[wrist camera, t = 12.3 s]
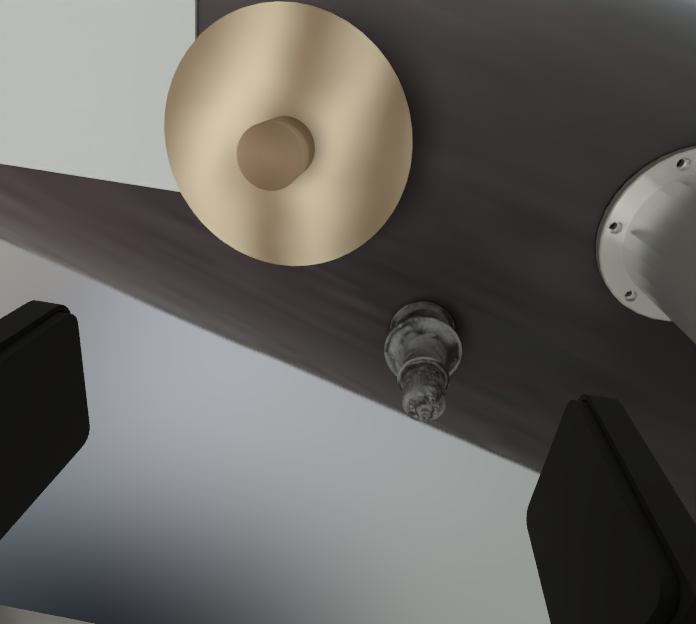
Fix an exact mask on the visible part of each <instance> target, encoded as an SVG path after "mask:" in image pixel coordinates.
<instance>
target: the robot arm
mask: <svg viewBox="0 0 696 624" xmlns="http://www.w3.org/2000/svg"><path fill="white" fill-rule="evenodd" d="M680 159H681V163H680V165H678V166H677V162H678V161H679V160H680ZM614 222H615V225H614V227H612V228H609V227H610V225H611V224H612V223H614ZM596 261H597V265H598V269H599V273H600V275H601V277H602V279H603V281H604V283H605V285H606V286H607V288H608V289H609V290H610V291H611V293H612V294H613V295H614V296H615V297H616V298H617V299H618V300H619V301H620V302H621V303H622V304H623V305H624V306H626V307H628V308H629V309H631V310H633V311H634V312H636V313H638V314H641V315H643V316H646V317H649V318H652V319H658V320H664V321H673V322H674V323H675V324H676V325H677V326H678V327H679V328H680V329H681V330H682V331H683V332H684V333H685V334H686V335H687V336H688V337H689V338H690V339H691V340H692V341H693V342H694V343H695V344H696V146H692V147H688V148H683V149H679V150H677V151H675V152H672V153H670V154H667V155H665V156H662V157H660V158H658V159H657V160H655V161H653V162H652V163H650V164H648V165H647V166H645V167H643V168H642V169H641V170H640V171H639V172H637V173H636V174H635V175H634V176H633V177H631V178H630V179H629V180H628V181H627V182H626V183H625V184H624V185H623V186H622V188H621V189H620V190H619V191H618V192H617V193H616V194H615V196H614V197H613V199H612V201H611V202H610V204H609V205H608V207H607V209H606V210H605V213H604V215H603V217H602V220H601V222H600V225H599V228H598V233H597V238H596ZM629 291H630V292H629ZM627 292H629V293H628V294H626V293H627ZM82 364H83V363H82V354H81V346H80V337H79V329H78V322H77V318H76V317H75V316H74V315H73V314H70V311H69V310H68V308H67V307H66V306H64V305H60V304H54V303H48V302H42V301H35V300H33V301H30V302H28V303H26V304H24V305H23V306H21V307H20V308H18V309H16V310H15V311H13V312H11V313H9V314H8V315H6V316H4V317H3V318H1V319H0V540H1V539H2V537H3V536H4V535H5V534H6V533H7V532H8V531H9V529H10V528H11V527H12V526H13V525H14V524H15V523H16V522H17V520H18V519H19V518H20V517H21V516H22V515H23V513H24V512H25V511H26V510H27V509H28V508H29V506H31V504H32V503H33V502H34V501H35V500H36V499H37V497H39V495H40V494H41V493H42V492H43V491H44V490H45V488H46V487H47V486H48V485H49V484H50V483H51V482H52V481H53V479H54V478H55V477H56V476H57V475H58V474H59V473H60V471H61V470H62V469H63V468H64V467H65V466H66V464H67V463H68V462H69V461H70V460H71V459H72V458H73V457H74V456H75V454H76V453H77V452H78V451H79V450H80V449H81V448H82V446H83V445H84V443H85V442H86V440H87V438H88V435H89V430H90V428H89V427H90V425H89V416H88V408H87V398H86V390H85V381H84V372H83V365H82ZM527 529H528V533H529V537H530V541H531V545H532V549H533V553H534V557H535V561H536V565H537V569H538V573H539V577H540V582H541V586H542V590H543V594H544V598H545V602H546V606H547V610H548V614H549V618H550V622H551V624H696V524H695V523H694V521H693V519H692V518H691V516H690V515H689V513H688V511H687V510H686V508H685V506H684V505H683V503H682V502H681V500H680V498H679V497H678V495H677V493H676V492H675V490H674V489H673V487H672V485H671V484H670V482H669V481H668V479H667V477H666V476H665V474H664V472H663V471H662V469H661V468H660V466H659V464H658V463H657V461H656V459H655V458H654V456H653V455H652V453H651V451H650V450H649V448H648V446H647V445H646V443H645V442H644V440H643V438H642V437H641V435H640V434H639V432H638V430H637V429H636V427H635V425H634V424H633V422H632V421H631V419H630V417H629V416H628V414H627V412H626V411H625V409H624V408H623V406H622V404H621V403H620V402H619V401H618V400H616V399H612V398H606V397H600V396H594V395H588V394H583V395H581V396H580V398H579V399H578V401H577V400H571V401H569V403H568V404H567V406H566V409H565V411H564V414H563V416H562V419H561V422H560V424H559V427H558V430H557V432H556V435H555V437H554V440H553V443H552V445H551V448H550V451H549V453H548V456H547V458H546V461H545V464H544V466H543V469H542V472H541V474H540V477H539V480H538V482H537V485H536V487H535V490H534V493H533V495H532V498H531V501H530V503H529V506H528V509H527ZM0 624H93V623H87V622H83V621H78V620H73V619H68V618H62V617H57V616H52V615H47V614H42V613H36V612H32V611H26V610H21V609H16V608H11V607H6V606H1V605H0Z"/></svg>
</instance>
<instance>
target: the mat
mask: <svg viewBox="0 0 696 624" xmlns="http://www.w3.org/2000/svg"><path fill="white" fill-rule="evenodd" d="M196 39H197V0H0V164H6V165H12V166H19V167H25V168H32V169H38V170H44V171H51V172H57V173H63V174H70V175H76V176H82V177H89V178H95V179H102V180H108V181H114V182H121V183H127V184H133V185H140V186H146V187H152V188H159V189H165V190H172V191H178V192H180V189H179V187H178V185H177V183H176V181H175V179H174V176H173V173H172V170H171V167H170V164H169V159H168V155H167V150H166V144H165V133H164V119H165V107H166V101H167V95H168V92H169V88H170V85H171V81H172V78H173V76H174V74H175V71H176V69H177V67H178V65H179V63H180V61H181V59H182V58H183V56H184V55H185V53H186V51H187V50H188V48H189V47H190V46H191V45H192V44H193V42H194V41H195V40H196Z"/></svg>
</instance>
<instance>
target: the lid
mask: <svg viewBox="0 0 696 624" xmlns="http://www.w3.org/2000/svg"><path fill="white" fill-rule="evenodd" d="M164 133H165V144H166V150H167V155H168V159H169V164H170V167H171V170H172V173H173V176H174V179H175V181H176V183H177V185H178V187H179V189H180V192H181V194H182V195H183V197H184V199H185V200H186V202H187V203H188V205H189V207H190V208H191V209H192V211H193V212H194V213H195V215H196V216H197V217H198V218H199V220H200V221H201V222H202V223H203V224H204V225H205V226H206V227H207V228H208V229H209V230H210V231H211V232H212V233H213V234H214V235H216V236H217V237H218V238H219V239H221V240H222V241H223V242H225V243H226V244H228V245H229V246H231V247H232V248H234V249H236V250H237V251H239V252H242V253H244V254H246V255H248V256H250V257H253V258H255V259H258V260H261V261H264V262H269V263H273V264H278V265H288V266H306V265H313V264H320V263H324V262H327V261H331V260H334V259H337V258H339V257H341V256H344V255H346V254H348V253H350V252H352V251H353V250H355V249H357V248H358V247H360V246H361V245H363V244H364V243H365V242H366V241H368V240H369V239H370V238H371V237H373V236H374V235H375V234H376V233H377V231H378V230H379V229H380V228H381V227H382V226H383V225H384V224H385V223H386V221H387V220H388V218H389V217H390V216H391V214H392V213H393V211H394V209H395V208H396V206H397V204H398V202H399V200H400V198H401V196H402V193H403V191H404V188H405V185H406V183H407V179H408V175H409V170H410V166H411V158H412V148H413V143H412V124H411V117H410V111H409V107H408V104H407V100H406V97H405V93H404V91H403V89H402V86H401V84H400V82H399V79H398V77H397V75H396V74H395V72H394V70H393V68H392V67H391V65H390V63H389V62H388V60H387V59H386V58H385V56H384V55H383V54H382V52H381V51H380V50H379V49H378V47H377V46H376V45H375V44H374V43H373V42H372V41H371V40H370V39H369V38H368V37H367V36H366V35H365V34H364V33H362V32H361V31H360V30H358V29H357V28H355V27H354V26H353V25H351V24H350V23H349V22H347V21H346V20H344V19H342V18H340V17H338V16H336V15H335V14H333V13H331V12H328V11H325V10H323V9H320V8H317V7H315V6H311V5H306V4H301V3H296V2H280V1H276V2H267V3H259V4H255V5H251V6H247V7H244V8H241V9H239V10H236V11H234V12H232V13H230V14H227V15H226V16H224V17H222V18H221V19H219V20H218V21H216V22H215V23H213V24H212V25H211V26H209V27H208V28H207V29H206V30H205V31H204V32H203V33H202V34H200V35H199V36H198V38H197V39H196V40H195V41H194V42H193V44H192V45H191V46H190V47H189V48H188V50H187V51H186V53H185V55H184V56H183V58H182V59H181V61H180V63H179V65H178V67H177V69H176V71H175V74H174V76H173V78H172V81H171V85H170V88H169V92H168V95H167V101H166V107H165V119H164Z"/></svg>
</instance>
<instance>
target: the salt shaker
mask: <svg viewBox="0 0 696 624" xmlns="http://www.w3.org/2000/svg"><path fill="white" fill-rule="evenodd" d="M384 355H385V360H386V362H387V364H388V366H389V368H390V369H391V370H392V372H393V373H394V374H395V375H396V376H398V377H397V381H398V385H399V387H400V389H401V391H402V406H403V409H404V411H405V413H406V414H407V415H408V416H409V417H410V418H412V419H414V420H417V421H421V422H427V421H431V420H435V419H436V418H438V417H439V416H440V415H441V414H442V413H443V412H444V410H445V407H446V392H445V391H446V389H447V387H448V386H449V381H450V375H451V374H452V373H453V372H454V371H455V370H456V368H457V367H458V365H459V363H460V361H461V356H462V347H461V342H460V339H459V337H458V335H457V333H456V332H455V328H454V322H453V320H452V318H451V316H450V315H449V313H448V312H447V311H446V310H445V309H443V308H442V307H441V306H439V305H437V304H434V303H431V302H423V301H421V302H413V303H411V304H408V305H406V306H404V307H403V308H401V309H400V310H399V311H398V312H397V313H396V314H395V316H394V317H393V319H392V322H391V325H390V333H389V335H388V337H387V339H386V341H385V347H384Z"/></svg>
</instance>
